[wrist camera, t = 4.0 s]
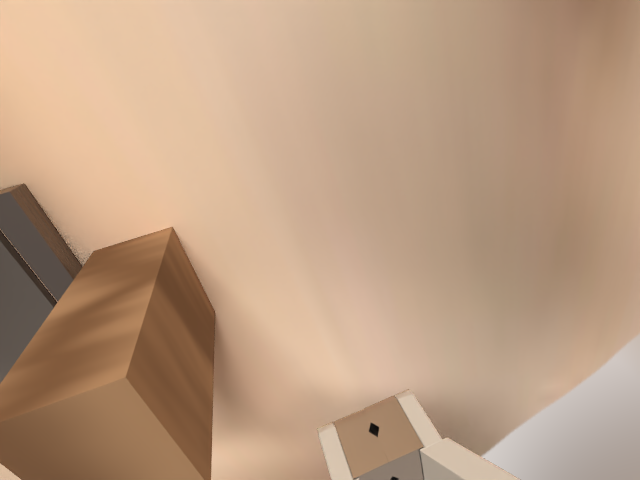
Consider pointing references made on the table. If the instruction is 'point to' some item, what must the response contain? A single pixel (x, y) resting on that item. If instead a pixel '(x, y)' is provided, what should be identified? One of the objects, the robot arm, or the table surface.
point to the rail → (37, 239)
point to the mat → (19, 306)
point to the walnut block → (117, 373)
